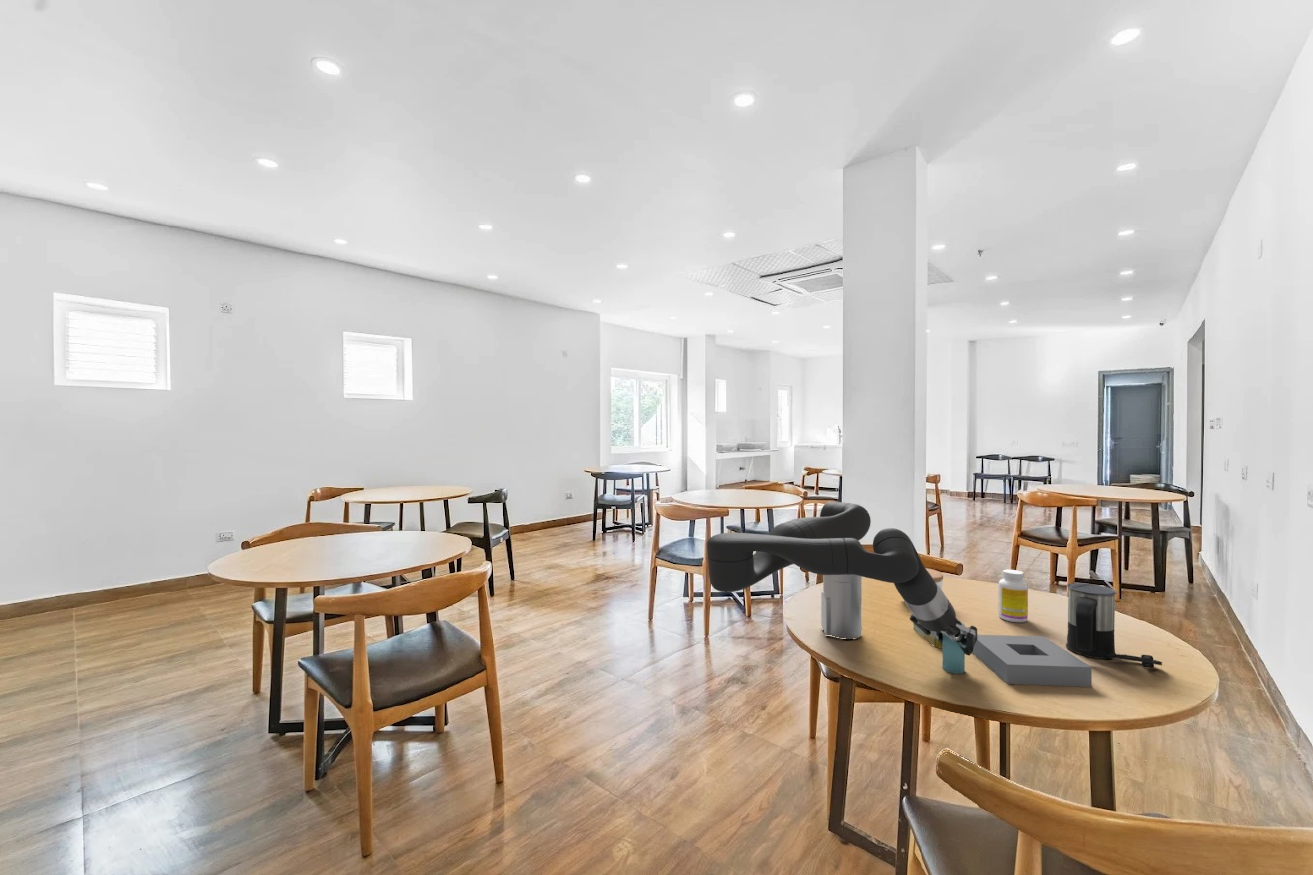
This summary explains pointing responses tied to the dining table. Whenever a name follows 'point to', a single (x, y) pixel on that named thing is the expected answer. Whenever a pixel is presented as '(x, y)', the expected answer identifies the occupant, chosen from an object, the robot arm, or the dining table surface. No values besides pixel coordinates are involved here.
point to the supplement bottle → (1013, 597)
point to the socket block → (1031, 661)
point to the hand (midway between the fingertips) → (958, 647)
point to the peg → (953, 656)
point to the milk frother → (1095, 623)
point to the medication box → (928, 637)
